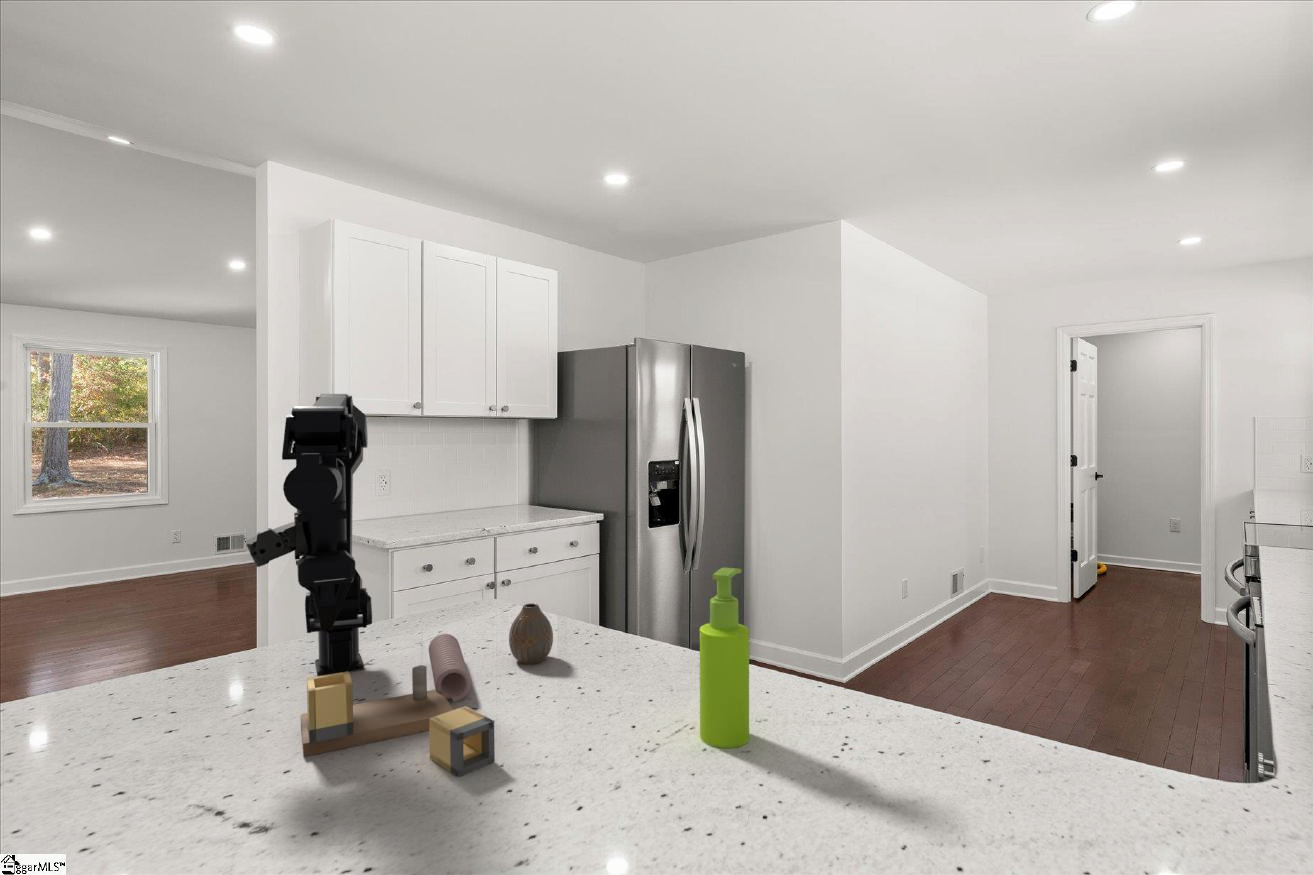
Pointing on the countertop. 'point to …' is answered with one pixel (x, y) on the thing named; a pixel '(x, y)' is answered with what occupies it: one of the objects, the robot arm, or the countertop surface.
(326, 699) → the loose sleeve
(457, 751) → the tan angular part
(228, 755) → the countertop surface
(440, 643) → the coil
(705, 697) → the soap dispenser
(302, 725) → the pin board
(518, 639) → the vase
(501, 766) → the countertop surface
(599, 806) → the countertop surface
